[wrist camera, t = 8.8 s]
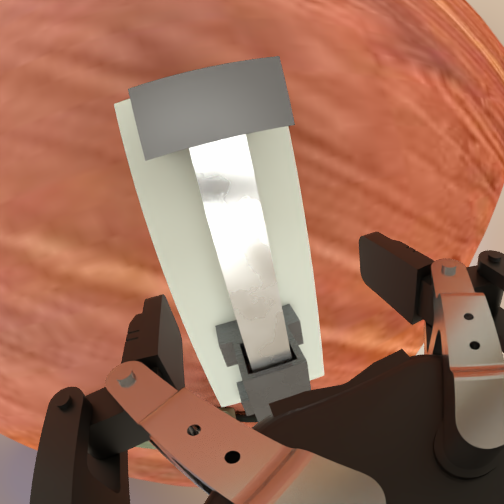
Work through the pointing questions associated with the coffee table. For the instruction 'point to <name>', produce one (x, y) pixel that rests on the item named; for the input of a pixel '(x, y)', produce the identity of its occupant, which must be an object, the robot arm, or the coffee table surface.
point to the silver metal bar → (243, 247)
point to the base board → (203, 248)
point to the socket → (210, 105)
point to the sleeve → (270, 380)
